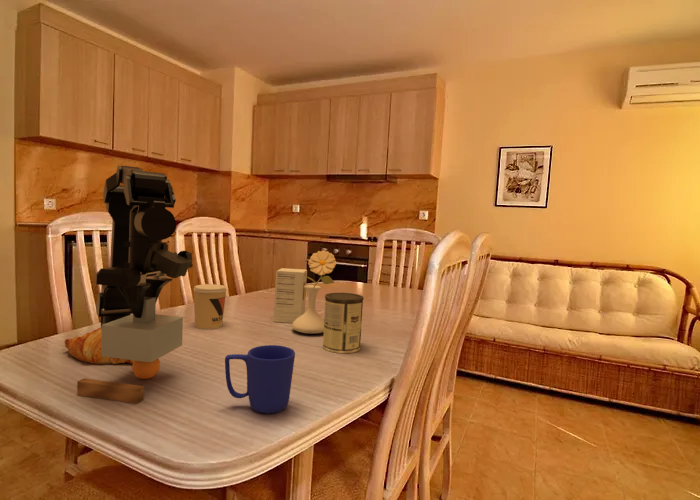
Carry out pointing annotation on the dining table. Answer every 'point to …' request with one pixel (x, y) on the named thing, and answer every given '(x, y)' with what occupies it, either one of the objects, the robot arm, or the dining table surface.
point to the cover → (142, 335)
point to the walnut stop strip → (110, 390)
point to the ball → (145, 368)
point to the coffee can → (342, 322)
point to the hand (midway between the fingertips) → (143, 315)
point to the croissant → (90, 349)
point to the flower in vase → (315, 293)
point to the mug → (265, 377)
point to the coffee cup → (209, 305)
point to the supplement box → (289, 294)
